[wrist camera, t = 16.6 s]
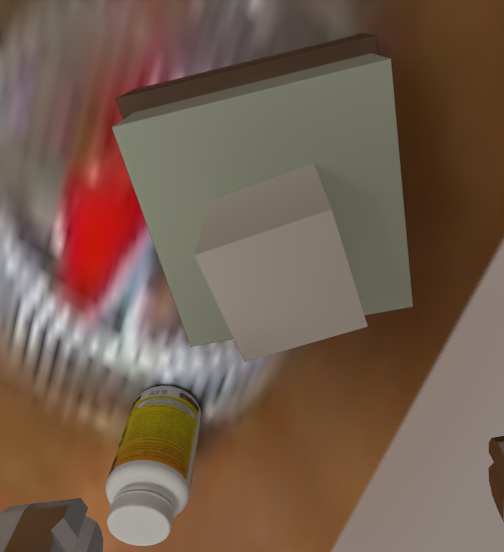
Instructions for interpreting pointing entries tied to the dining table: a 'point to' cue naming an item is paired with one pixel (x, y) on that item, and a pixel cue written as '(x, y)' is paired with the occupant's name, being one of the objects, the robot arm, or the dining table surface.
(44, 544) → the robot arm
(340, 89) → the tower top
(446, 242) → the dining table surface
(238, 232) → the cream block
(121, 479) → the supplement bottle
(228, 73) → the tower base
